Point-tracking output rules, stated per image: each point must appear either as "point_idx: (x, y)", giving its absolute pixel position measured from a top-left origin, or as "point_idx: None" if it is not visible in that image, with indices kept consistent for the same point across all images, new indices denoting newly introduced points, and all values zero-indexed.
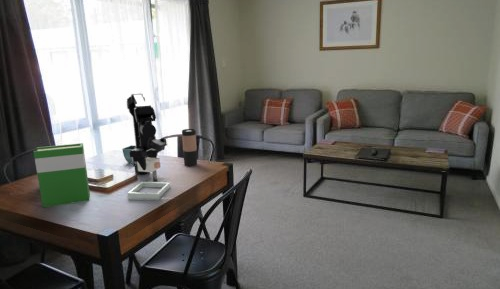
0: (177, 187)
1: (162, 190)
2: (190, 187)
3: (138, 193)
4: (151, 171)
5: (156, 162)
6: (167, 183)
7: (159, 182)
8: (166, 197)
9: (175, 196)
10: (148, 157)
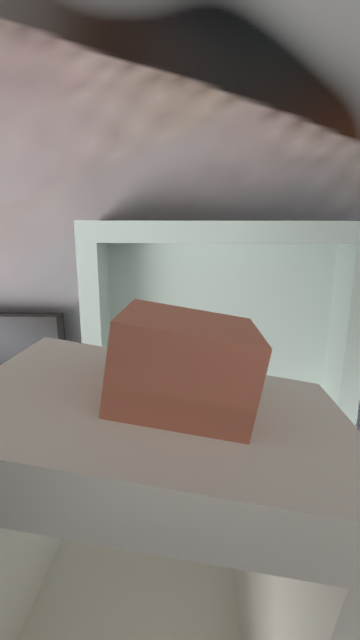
0: (51, 172)
1: (275, 221)
2: (29, 38)
3: (357, 403)
4: (324, 393)
5: (131, 420)
6: (98, 238)
7: (83, 327)
8: (283, 185)
9: (258, 110)
10: None
